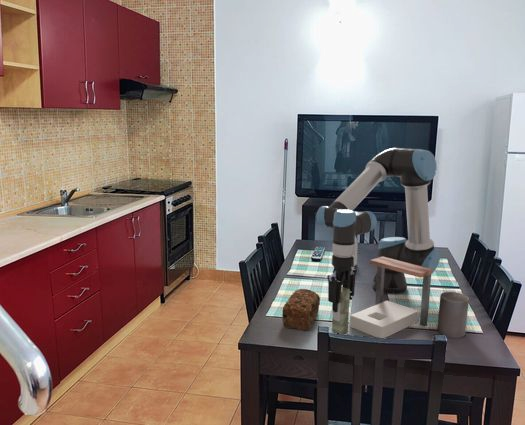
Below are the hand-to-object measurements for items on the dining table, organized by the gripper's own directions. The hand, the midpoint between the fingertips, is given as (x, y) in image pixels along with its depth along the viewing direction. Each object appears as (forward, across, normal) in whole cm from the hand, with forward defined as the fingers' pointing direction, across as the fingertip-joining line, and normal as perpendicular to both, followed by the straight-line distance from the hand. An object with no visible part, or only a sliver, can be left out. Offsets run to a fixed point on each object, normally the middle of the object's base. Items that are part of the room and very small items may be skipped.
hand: (340, 318), depth 182 cm
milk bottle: (+6, -69, -51) cm, 86 cm away
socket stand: (+6, -19, +6) cm, 21 cm away
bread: (+6, +2, -17) cm, 18 cm away
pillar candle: (+6, -31, +26) cm, 41 cm away
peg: (+5, 0, 0) cm, 5 cm away
